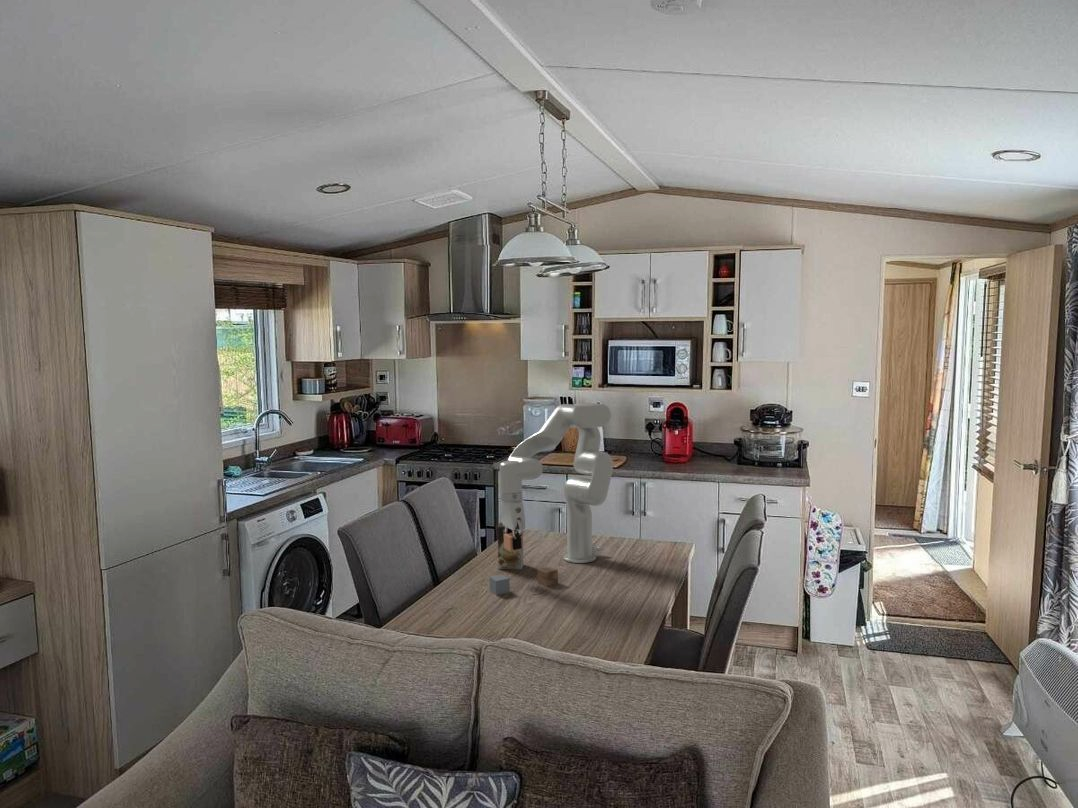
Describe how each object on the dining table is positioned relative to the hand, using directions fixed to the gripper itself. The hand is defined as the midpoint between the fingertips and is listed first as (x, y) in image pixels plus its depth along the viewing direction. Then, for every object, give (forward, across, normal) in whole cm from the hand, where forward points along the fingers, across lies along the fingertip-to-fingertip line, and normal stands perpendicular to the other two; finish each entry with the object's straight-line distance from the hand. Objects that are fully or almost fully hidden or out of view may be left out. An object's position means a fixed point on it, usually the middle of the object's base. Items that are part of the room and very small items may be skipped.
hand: (513, 546), depth 265 cm
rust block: (+1, 0, 0) cm, 1 cm away
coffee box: (+13, +14, -5) cm, 19 cm away
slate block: (+12, -8, +10) cm, 17 cm away
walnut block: (+12, -9, -8) cm, 17 cm away
